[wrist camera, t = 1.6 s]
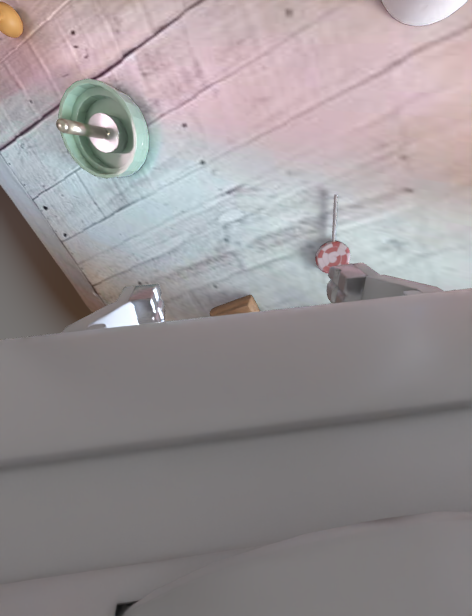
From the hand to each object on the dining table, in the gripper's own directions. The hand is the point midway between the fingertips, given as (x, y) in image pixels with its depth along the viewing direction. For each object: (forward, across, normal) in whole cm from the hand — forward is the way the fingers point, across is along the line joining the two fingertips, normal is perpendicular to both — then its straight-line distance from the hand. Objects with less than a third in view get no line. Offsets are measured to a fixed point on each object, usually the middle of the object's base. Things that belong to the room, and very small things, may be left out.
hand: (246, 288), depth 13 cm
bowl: (+50, +18, -9) cm, 54 cm away
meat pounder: (+50, +18, -9) cm, 54 cm away
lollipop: (+38, -22, +10) cm, 45 cm away
